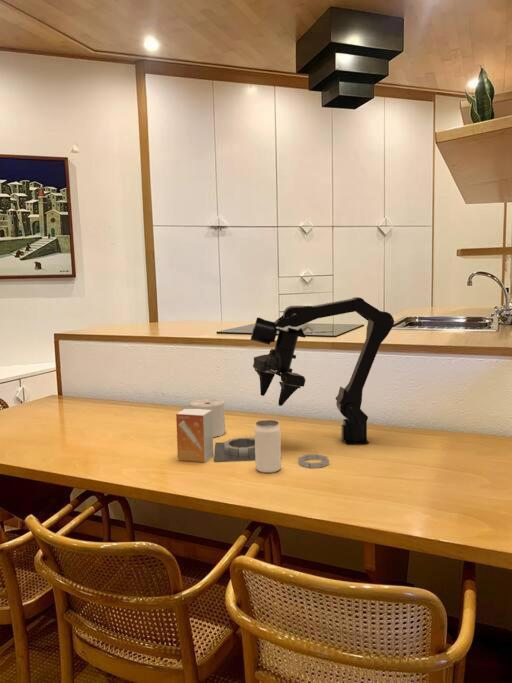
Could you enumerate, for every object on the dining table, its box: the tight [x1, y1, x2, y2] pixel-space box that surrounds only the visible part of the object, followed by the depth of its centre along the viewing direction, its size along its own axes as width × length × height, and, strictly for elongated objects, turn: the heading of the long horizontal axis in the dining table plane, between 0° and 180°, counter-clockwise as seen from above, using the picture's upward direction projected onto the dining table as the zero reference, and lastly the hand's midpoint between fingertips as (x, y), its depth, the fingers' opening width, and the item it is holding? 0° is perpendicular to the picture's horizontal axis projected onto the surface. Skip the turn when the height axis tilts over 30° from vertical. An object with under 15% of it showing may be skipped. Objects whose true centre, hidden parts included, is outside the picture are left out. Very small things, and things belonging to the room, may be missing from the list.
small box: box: [175, 409, 214, 463], centre depth 143 cm, size 8×6×13 cm
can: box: [254, 419, 282, 474], centre depth 133 cm, size 6×6×12 cm
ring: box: [297, 453, 330, 469], centre depth 137 cm, size 8×8×1 cm
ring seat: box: [213, 436, 255, 463], centre depth 148 cm, size 18×16×2 cm
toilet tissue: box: [180, 398, 226, 438], centre depth 166 cm, size 11×12×10 cm
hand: (270, 400), depth 153 cm, fingers open, 9 cm apart
